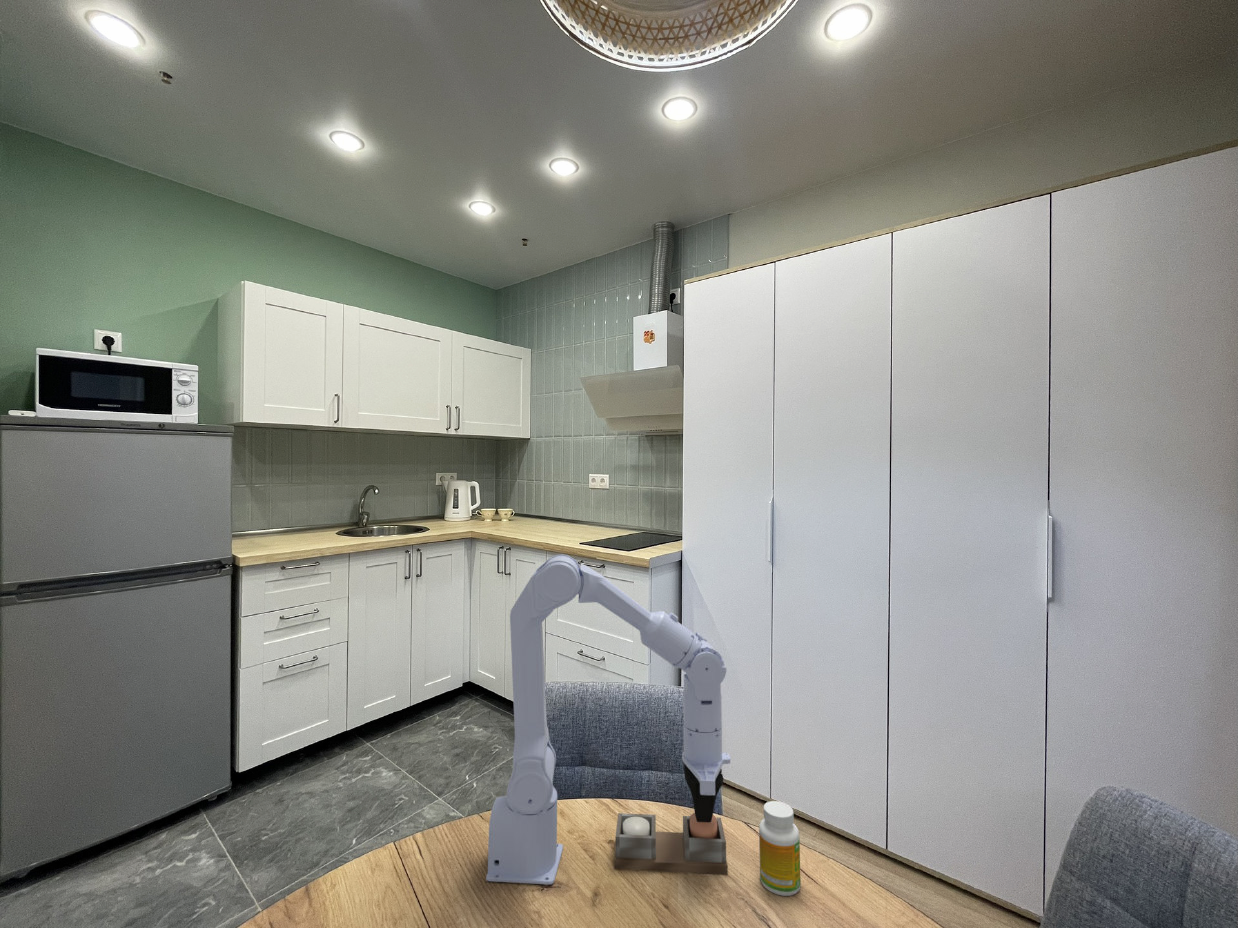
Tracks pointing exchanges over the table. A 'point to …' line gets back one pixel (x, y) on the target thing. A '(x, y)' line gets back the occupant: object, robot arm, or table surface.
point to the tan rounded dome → (703, 828)
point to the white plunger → (636, 826)
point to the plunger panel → (669, 849)
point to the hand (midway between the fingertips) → (703, 819)
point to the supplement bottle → (779, 850)
